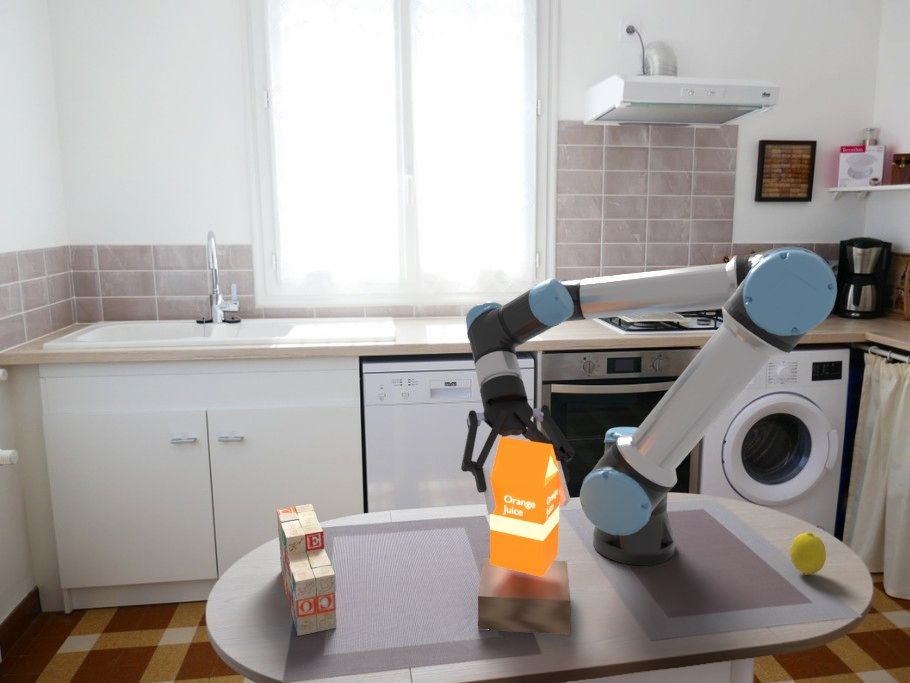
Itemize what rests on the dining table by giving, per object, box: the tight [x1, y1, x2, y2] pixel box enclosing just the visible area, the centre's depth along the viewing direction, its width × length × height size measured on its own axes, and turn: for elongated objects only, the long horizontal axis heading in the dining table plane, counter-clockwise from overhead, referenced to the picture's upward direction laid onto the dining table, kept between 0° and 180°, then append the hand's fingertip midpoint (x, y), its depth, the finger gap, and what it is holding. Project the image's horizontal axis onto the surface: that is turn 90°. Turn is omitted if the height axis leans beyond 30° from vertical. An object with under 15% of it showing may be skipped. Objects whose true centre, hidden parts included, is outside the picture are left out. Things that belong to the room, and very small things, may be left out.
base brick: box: [477, 557, 572, 636], centre depth 113 cm, size 14×12×6 cm
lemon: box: [789, 531, 827, 576], centre depth 122 cm, size 6×6×8 cm
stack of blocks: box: [276, 503, 337, 637], centre depth 117 cm, size 21×6×12 cm, turn 20°
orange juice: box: [489, 436, 560, 577], centre depth 110 cm, size 8×9×20 cm
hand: (529, 507), depth 107 cm, fingers closed on orange juice, 11 cm apart
